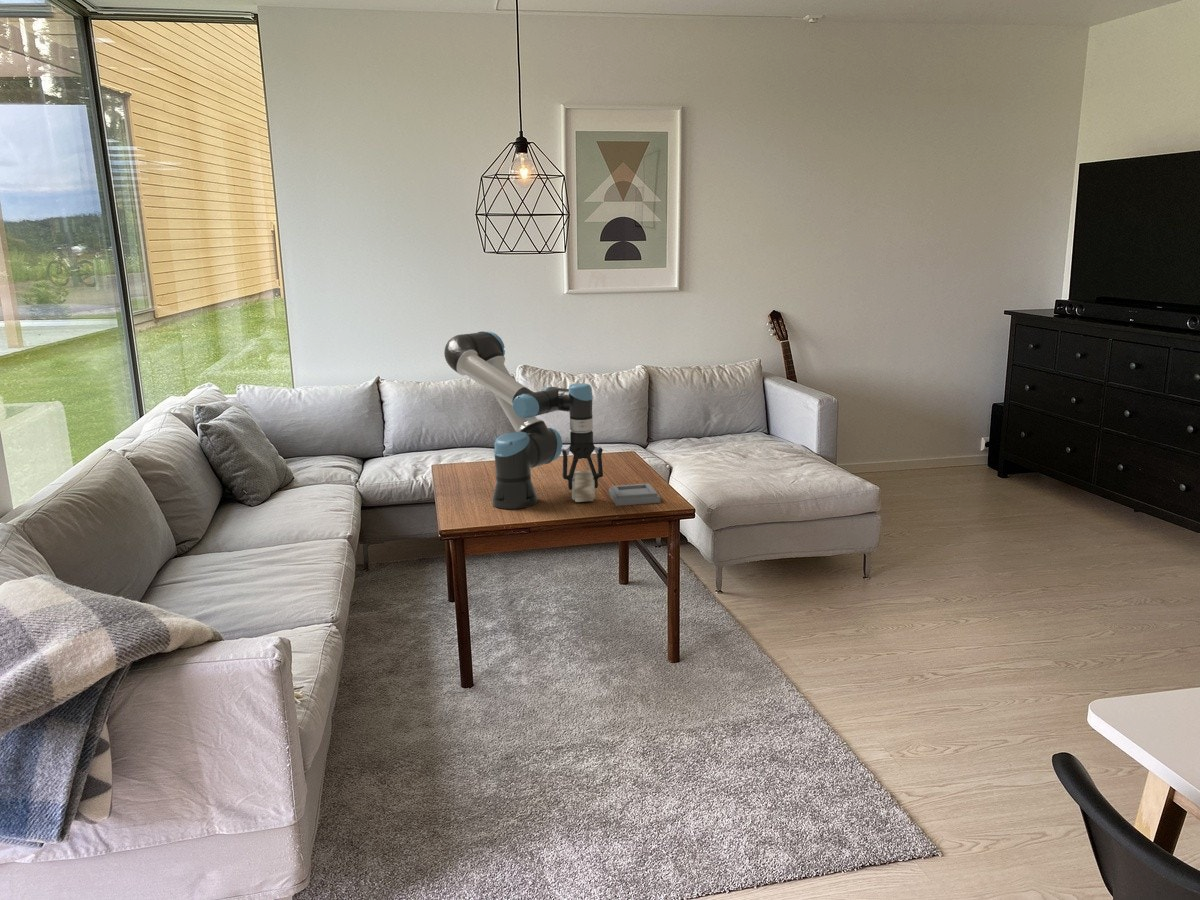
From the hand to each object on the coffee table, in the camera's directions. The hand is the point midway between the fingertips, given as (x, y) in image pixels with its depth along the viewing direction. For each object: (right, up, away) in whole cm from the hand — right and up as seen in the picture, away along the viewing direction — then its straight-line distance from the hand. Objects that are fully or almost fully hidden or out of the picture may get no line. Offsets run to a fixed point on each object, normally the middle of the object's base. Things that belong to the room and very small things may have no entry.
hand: (583, 497), depth 294 cm
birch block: (0, 0, 0) cm, 0 cm away
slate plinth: (+17, 0, +2) cm, 17 cm away
